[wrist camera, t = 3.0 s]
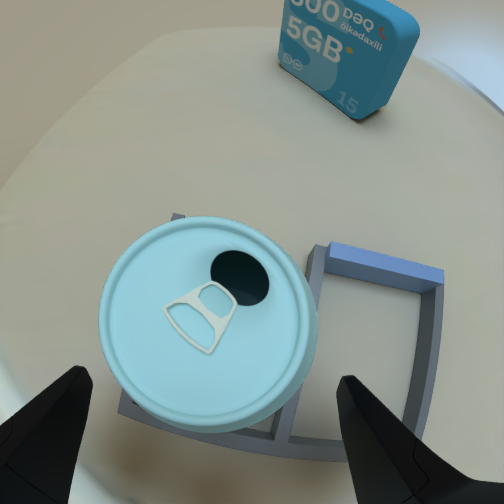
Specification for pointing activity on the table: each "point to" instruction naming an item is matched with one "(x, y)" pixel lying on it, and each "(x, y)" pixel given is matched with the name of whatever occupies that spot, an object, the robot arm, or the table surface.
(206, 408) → the can
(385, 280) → the grey flat frame
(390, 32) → the data package
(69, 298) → the table surface
